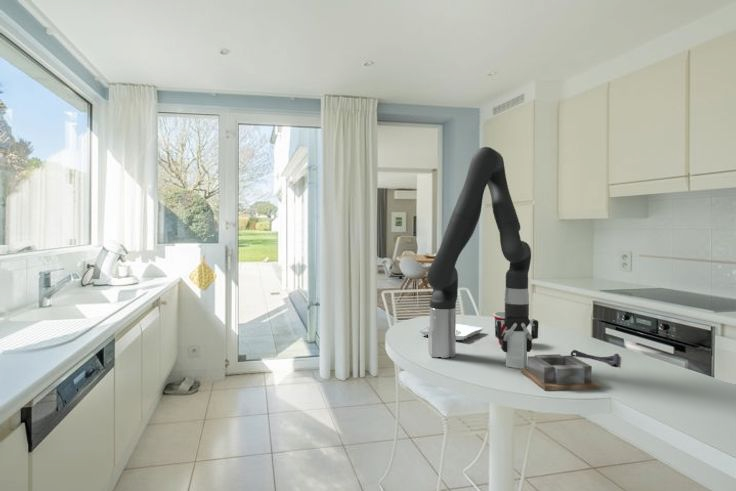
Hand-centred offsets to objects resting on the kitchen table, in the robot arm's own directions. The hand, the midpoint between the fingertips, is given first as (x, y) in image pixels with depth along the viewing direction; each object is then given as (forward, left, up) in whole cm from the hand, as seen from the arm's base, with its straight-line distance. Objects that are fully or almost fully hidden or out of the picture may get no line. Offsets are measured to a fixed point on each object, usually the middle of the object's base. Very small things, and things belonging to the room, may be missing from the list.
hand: (516, 351), depth 143 cm
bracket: (+31, +7, -6) cm, 32 cm away
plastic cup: (+8, +28, -5) cm, 30 cm away
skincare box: (0, 0, -5) cm, 5 cm away
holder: (+7, -14, -5) cm, 16 cm away
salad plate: (-10, +45, -6) cm, 46 cm away
